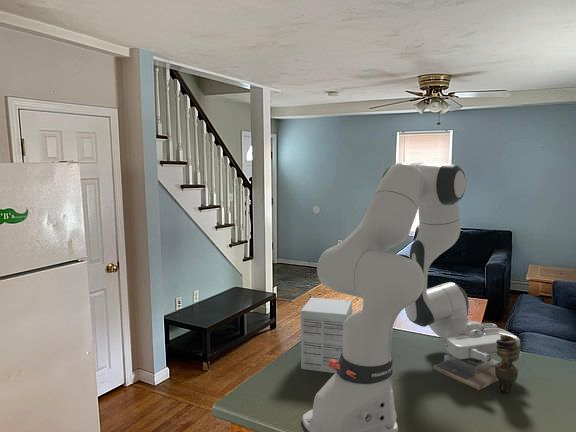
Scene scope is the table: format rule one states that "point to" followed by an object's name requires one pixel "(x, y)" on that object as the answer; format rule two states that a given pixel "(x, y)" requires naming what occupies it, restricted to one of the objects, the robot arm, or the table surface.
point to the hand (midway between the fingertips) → (503, 356)
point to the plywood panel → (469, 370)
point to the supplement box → (322, 332)
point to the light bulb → (507, 362)
